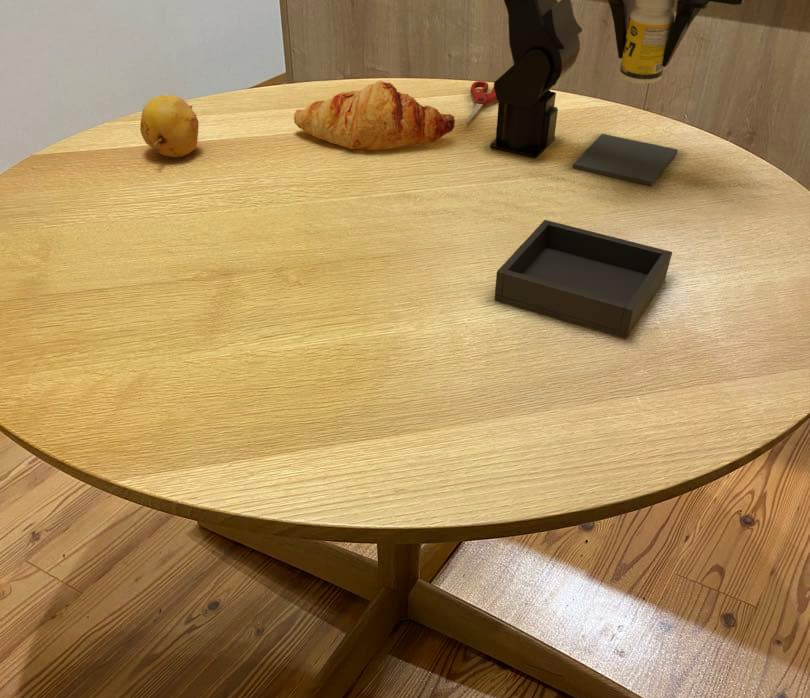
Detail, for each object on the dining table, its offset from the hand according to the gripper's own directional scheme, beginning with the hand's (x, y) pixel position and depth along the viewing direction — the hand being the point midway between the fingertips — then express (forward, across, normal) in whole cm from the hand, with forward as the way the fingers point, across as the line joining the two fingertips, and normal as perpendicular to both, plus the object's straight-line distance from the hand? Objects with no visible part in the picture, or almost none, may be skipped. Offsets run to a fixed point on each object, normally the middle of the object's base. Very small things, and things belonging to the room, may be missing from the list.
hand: (642, 61), depth 89 cm
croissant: (+12, -31, -8) cm, 34 cm away
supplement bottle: (+2, 0, 0) cm, 2 cm away
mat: (+11, 0, +1) cm, 11 cm away
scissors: (+12, -23, +7) cm, 27 cm away
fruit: (+12, -51, -24) cm, 58 cm away
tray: (+11, +6, -29) cm, 32 cm away
